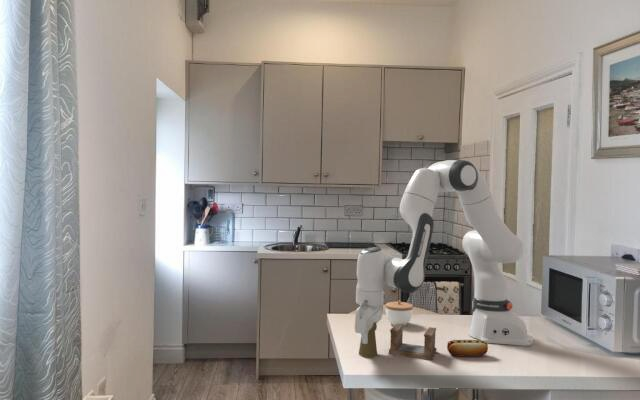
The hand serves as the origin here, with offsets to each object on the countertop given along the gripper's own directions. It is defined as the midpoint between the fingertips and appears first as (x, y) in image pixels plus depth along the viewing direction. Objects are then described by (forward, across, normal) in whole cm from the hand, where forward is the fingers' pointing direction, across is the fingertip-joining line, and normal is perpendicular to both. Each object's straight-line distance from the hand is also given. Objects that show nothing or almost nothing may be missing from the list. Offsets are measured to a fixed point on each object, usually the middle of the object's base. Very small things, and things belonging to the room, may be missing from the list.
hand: (368, 340), depth 166 cm
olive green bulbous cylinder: (+5, 0, 0) cm, 5 cm away
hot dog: (+5, +13, -30) cm, 33 cm away
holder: (+5, +8, -13) cm, 16 cm away
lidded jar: (+5, +40, -1) cm, 40 cm away
